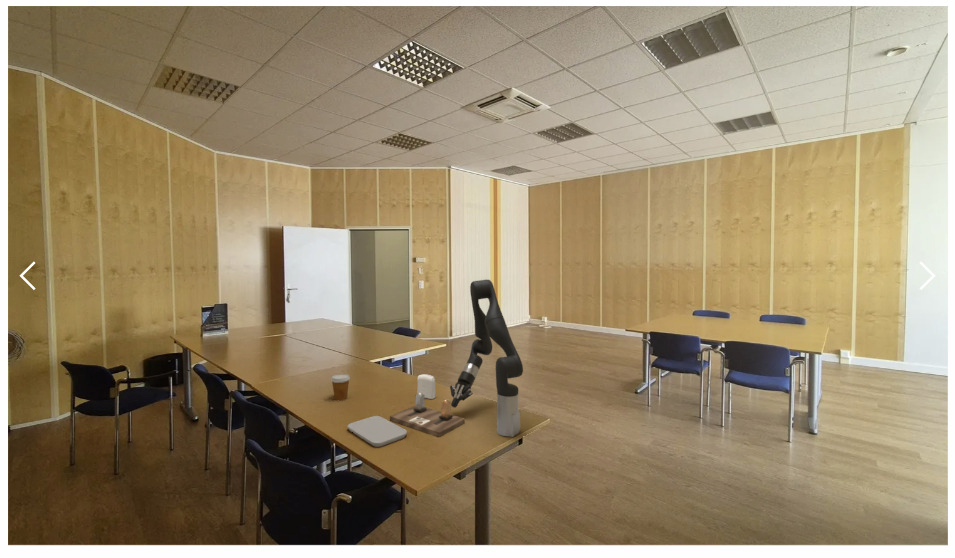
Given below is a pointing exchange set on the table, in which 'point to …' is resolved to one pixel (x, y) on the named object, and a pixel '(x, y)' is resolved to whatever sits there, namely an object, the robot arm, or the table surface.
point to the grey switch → (420, 402)
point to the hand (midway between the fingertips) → (453, 406)
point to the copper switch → (445, 410)
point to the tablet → (377, 431)
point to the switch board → (427, 421)
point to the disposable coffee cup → (340, 386)
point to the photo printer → (426, 385)
